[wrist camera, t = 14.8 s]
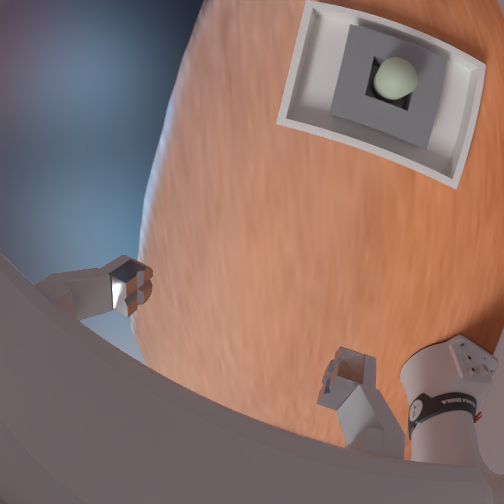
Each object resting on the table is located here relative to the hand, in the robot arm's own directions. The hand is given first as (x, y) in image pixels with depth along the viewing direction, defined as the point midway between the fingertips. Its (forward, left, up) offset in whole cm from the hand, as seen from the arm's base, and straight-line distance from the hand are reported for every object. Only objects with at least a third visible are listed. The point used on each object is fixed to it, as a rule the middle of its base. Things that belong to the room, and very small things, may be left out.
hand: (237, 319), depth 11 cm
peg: (-5, -15, -30) cm, 34 cm away
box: (-5, -15, -31) cm, 35 cm away
